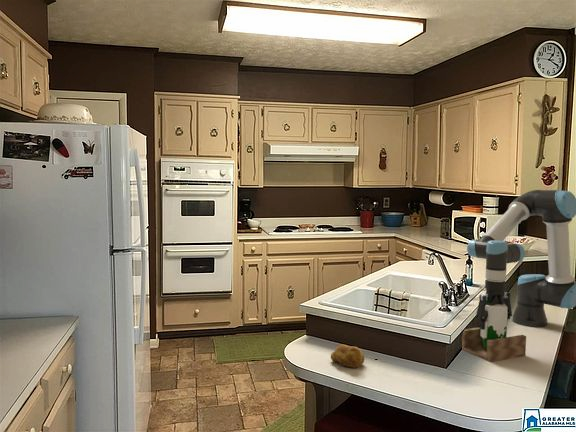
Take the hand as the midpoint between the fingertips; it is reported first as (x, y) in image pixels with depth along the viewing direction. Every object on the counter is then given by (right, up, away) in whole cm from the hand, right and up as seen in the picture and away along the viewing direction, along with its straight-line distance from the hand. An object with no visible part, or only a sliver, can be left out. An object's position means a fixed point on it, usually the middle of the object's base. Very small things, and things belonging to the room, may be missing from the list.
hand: (493, 335), depth 197 cm
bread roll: (-59, -8, -13) cm, 61 cm away
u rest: (0, -7, +1) cm, 7 cm away
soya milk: (0, -5, +1) cm, 5 cm away
